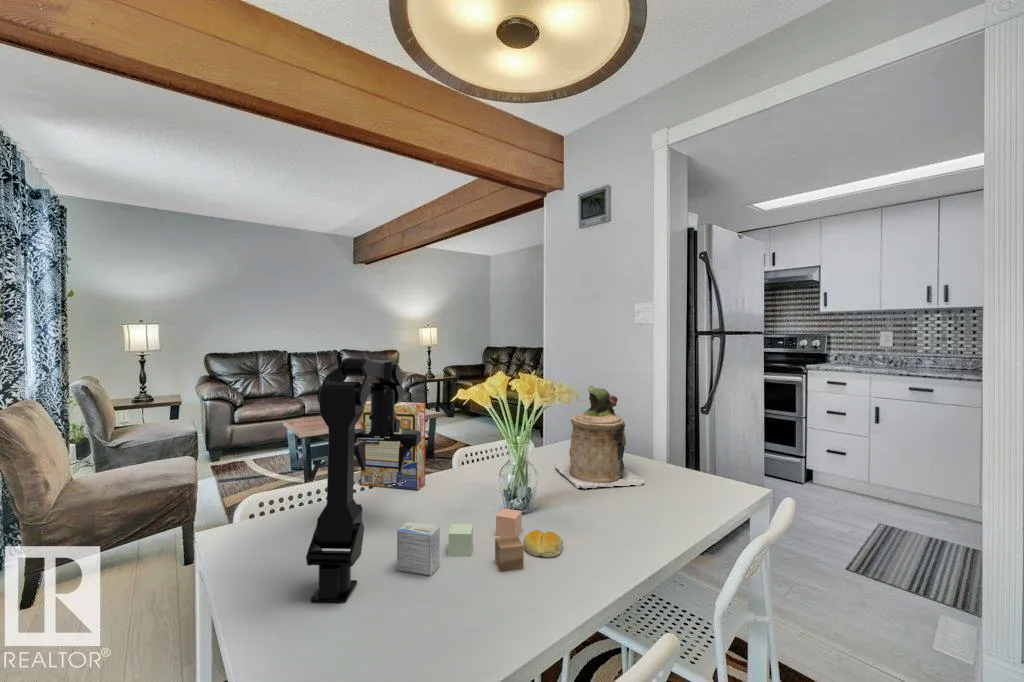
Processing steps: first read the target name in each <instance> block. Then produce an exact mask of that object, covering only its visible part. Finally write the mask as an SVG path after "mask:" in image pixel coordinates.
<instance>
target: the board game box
mask: <svg viewBox="0 0 1024 682" xmlns="http://www.w3.org/2000/svg"><path fill="white" fill-rule="evenodd" d="M394 412H395V414H396V418H397V419H399V420H400V430H399V432H398V433H395V432H394V434H402V433H403V432H405V431H406V430H419V431H420V432H421V442H420V443H419V444H418V445H417V446H414V447H413V448H412V449H410V450H409V452H408V454H407V456H406V459H405V462H404V465H403V468H402V471H401V472H399V470H398V460H399V447H400V446H401V445H402V444H401V443H400V441H366V446H365V458H366V469H365V471H364V472H363V471H362V469H361V468H360V481H359V482H360V486H368V487H369V486H370V487H382V488H391V487H392V488H393V489H404V490H405V489H406V490H415V491H419V490H420V489H421V488H423V487H424V486H425V485H426V402H404V401H401V402H399V403H397V404H395V405H394ZM369 415H371V400H366V403H365V405H364V412H363V414H362V415H361V417H360V429H364V430H365V433H369V432H370V431H371V420H369ZM375 437H377V438H378V437H380V436H375ZM385 438H390V437H385ZM376 475H377V476H376ZM405 481H406V482H405ZM402 482H403V483H402ZM398 483H399V484H398ZM393 484H395V485H393ZM389 485H390V486H389ZM385 486H386V487H385ZM422 486H423V487H422ZM392 488H391V489H392Z"/></svg>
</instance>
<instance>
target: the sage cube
mask: <svg viewBox="0 0 1024 682" xmlns="http://www.w3.org/2000/svg"><path fill="white" fill-rule="evenodd" d="M473 536H474V524H471V523H470V524H468V523H466V524H465V523H464V524H463V523H451V525H450V528H449V531H448V553H447V556H449V557H450V556H453V557H456V556H459V557H471V555H472V551H473V543H474V542H473V540H474V537H473Z"/></svg>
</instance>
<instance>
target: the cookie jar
mask: <svg viewBox="0 0 1024 682" xmlns="http://www.w3.org/2000/svg"><path fill="white" fill-rule="evenodd" d="M588 392H589V397H588V400H589V404H590V407H589V408H588V409H587V410H585V411H584V412H582V413H581V414H575V415H573V416H572V417H571V418H570V422H571V424H572V432H571V436H570V437H571V439H570V446H569V453H568V454H569V462H554V464H553V465H554V467H555V470H556V469H557V471H558V472H559V473H560V474H562V475H563V477H565V478H566V479H567V480H568V481H569V482H570V483H572V484H573V486H575V488H576V487H577V488H582V489H586V490H587V488H592V489H595V488H596V489H597V488H600V487H609V486H622V485H619V484H616V483H612V482H615V481H618V480H619V479H623V480H626V481H629V482H631V483H633V484H643V483H645V480H644V478H642V477H641V476H638V475H637V474H634V472H632V471H630V470H629V469H626V468H625V464H624V461H623V460H624V453H625V450H626V449H625V447H626V446H627V442H626V441H627V440H626V435H625V427H626V423H625V421H624V419H623V418H621V417H620V416H618V415H617V414H616V413H615V409H613V408H614V407H617V402H618V396H616V395H613V394H610V393H609V391H608V390H607V389H605V388H599V387H598V388H597V387H595V386H593V385H588ZM643 485H644V484H643ZM577 488H576V489H577Z"/></svg>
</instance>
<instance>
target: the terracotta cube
mask: <svg viewBox="0 0 1024 682" xmlns="http://www.w3.org/2000/svg"><path fill="white" fill-rule="evenodd" d="M522 512H523V511H522V510H516V509H509V508H502V509H501V510H500V511H499V512H498V513H497V514H496V515H495V536H496V537H506V536H515V535H517V536H518V537H519V534H520V533H521V532H522V529H523V528H522V526H523V525H522V523H523V519H522V517H523V514H522Z"/></svg>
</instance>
